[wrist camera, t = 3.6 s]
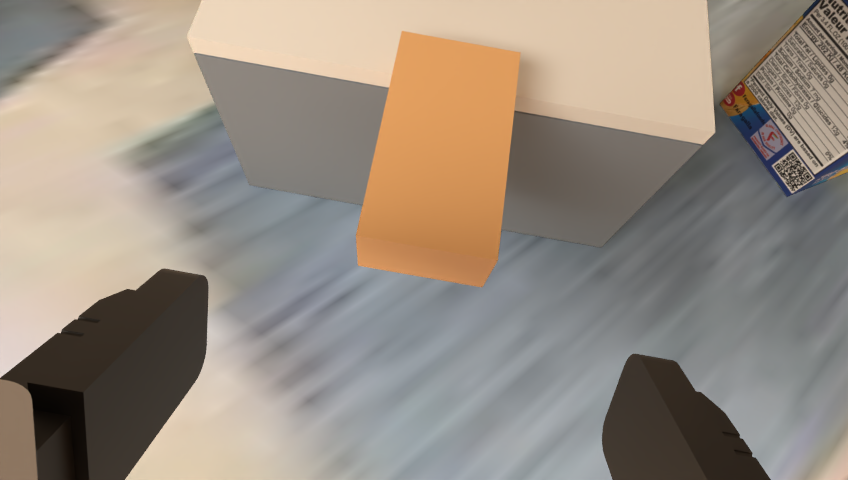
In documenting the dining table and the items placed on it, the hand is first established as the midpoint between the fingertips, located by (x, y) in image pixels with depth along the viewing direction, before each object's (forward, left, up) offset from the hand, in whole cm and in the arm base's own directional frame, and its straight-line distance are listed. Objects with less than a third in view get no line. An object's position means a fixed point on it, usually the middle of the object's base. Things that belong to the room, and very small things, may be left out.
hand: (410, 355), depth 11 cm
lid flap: (0, +15, -6) cm, 16 cm away
